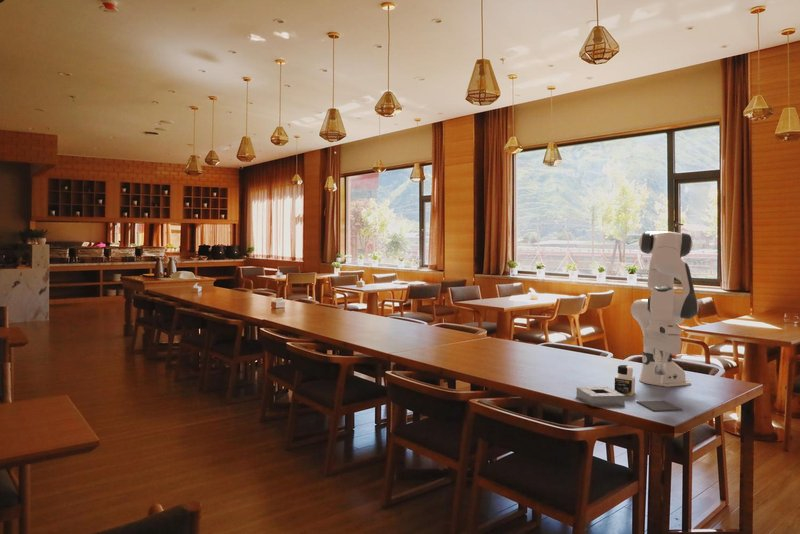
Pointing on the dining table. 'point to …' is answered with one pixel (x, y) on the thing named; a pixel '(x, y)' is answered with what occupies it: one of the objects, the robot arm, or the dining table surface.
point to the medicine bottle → (625, 380)
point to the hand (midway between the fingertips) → (660, 361)
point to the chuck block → (600, 396)
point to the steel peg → (659, 363)
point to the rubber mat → (658, 405)
